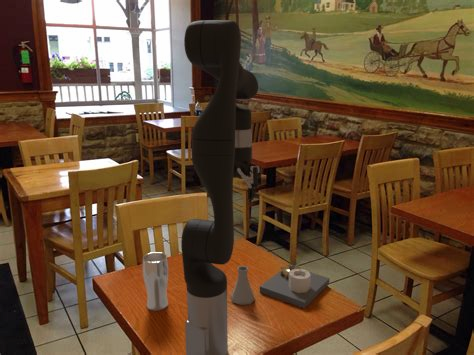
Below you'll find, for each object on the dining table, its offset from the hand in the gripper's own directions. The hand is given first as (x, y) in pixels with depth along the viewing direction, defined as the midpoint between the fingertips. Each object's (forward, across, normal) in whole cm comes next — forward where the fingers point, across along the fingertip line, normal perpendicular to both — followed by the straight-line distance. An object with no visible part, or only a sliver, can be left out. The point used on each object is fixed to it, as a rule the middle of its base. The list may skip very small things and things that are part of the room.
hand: (239, 197), depth 124 cm
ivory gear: (+26, +19, +4) cm, 33 cm away
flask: (+28, +7, -8) cm, 30 cm away
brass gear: (+26, +13, +10) cm, 31 cm away
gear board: (+28, +16, +6) cm, 33 cm away
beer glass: (+28, -11, -25) cm, 39 cm away
